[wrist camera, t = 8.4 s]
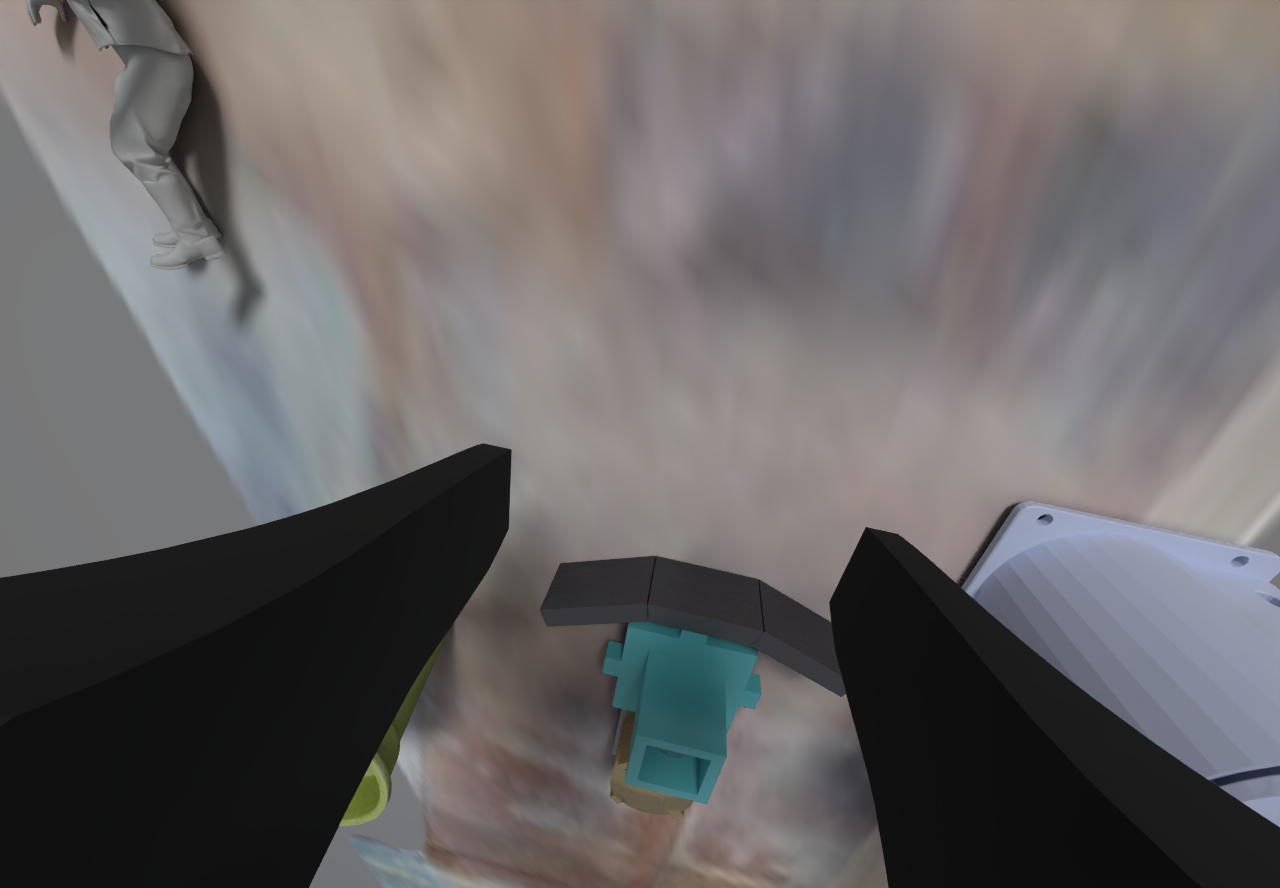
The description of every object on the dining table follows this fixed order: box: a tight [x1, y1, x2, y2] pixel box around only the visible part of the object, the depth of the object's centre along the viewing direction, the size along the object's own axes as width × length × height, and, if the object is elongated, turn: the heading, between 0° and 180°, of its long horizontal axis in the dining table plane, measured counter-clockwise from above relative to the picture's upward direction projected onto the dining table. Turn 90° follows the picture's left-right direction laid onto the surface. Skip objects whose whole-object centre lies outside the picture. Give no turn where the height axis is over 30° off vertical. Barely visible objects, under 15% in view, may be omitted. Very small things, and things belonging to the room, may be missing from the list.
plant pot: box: [339, 632, 448, 826], centre depth 22 cm, size 9×9×9 cm
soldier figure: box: [26, 0, 227, 270], centre depth 14 cm, size 8×5×12 cm
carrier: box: [540, 556, 846, 818], centre depth 23 cm, size 14×15×5 cm
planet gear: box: [602, 622, 761, 804], centre depth 21 cm, size 8×8×5 cm
